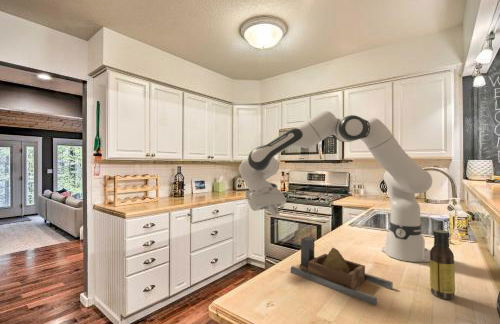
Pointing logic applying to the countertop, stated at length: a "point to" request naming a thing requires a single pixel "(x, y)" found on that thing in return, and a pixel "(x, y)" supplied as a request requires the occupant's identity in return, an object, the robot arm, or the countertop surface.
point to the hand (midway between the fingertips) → (276, 215)
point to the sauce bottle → (442, 266)
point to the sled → (329, 273)
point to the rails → (343, 288)
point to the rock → (336, 261)
